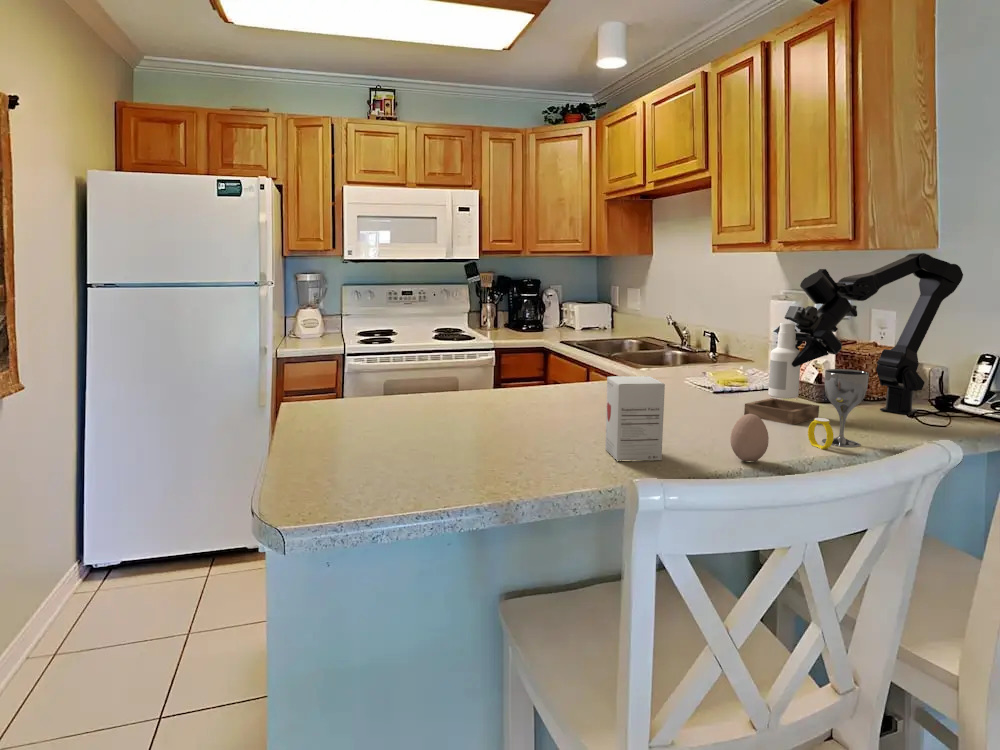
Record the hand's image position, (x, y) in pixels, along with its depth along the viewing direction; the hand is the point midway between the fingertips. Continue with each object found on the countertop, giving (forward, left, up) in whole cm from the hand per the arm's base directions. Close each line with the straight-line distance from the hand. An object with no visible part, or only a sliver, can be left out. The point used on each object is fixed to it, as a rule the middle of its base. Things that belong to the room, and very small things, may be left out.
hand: (783, 363), depth 158 cm
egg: (+42, +17, -13) cm, 47 cm away
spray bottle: (0, 0, -8) cm, 8 cm away
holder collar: (0, 0, -13) cm, 13 cm away
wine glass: (+14, +21, -13) cm, 29 cm away
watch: (+21, +20, -13) cm, 32 cm away
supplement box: (+56, +1, -13) cm, 57 cm away
